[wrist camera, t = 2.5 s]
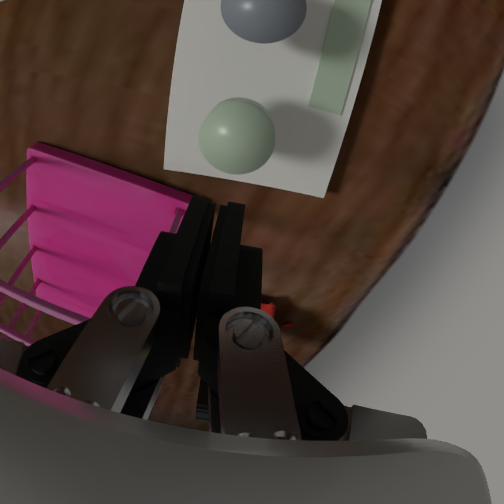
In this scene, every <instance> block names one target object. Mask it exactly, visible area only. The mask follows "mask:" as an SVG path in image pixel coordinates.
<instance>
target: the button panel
mask: <svg viewBox="0 0 504 504" xmlns="http://www.w3.org/2000/svg"><path fill="white" fill-rule="evenodd" d="M381 3H382V0H306V4H307V11H306V16H305V19H304V21H303V23H302V25H301V26H300V28H299V29H298V30H297V31H296V32H295V33H294V34H293V35H291V36H290V37H288V38H286V39H284V40H281V41H278V42H274V43H267V44H261V43H255V42H250V41H247V40H245V39H243V38H240V37H239V36H237V35H236V34H234V33H233V32H232V31H231V30H230V29H229V28H228V26H227V25H226V24H225V22H224V20H223V17H222V14H221V0H185V1H184V6H183V11H182V16H181V22H180V28H179V34H178V40H177V46H176V53H175V60H174V67H173V74H172V82H171V90H170V99H169V109H168V119H167V130H166V142H165V156H164V169H166V170H173V171H180V172H187V173H193V174H200V175H206V176H212V177H218V178H224V179H230V180H236V181H241V182H247V183H252V184H258V185H263V186H268V187H273V188H278V189H283V190H288V191H293V192H298V193H303V194H307V195H312V196H316V197H321V198H324V196H325V193H326V190H327V187H328V184H329V181H330V178H331V175H332V172H333V169H334V166H335V163H336V160H337V157H338V154H339V151H340V148H341V144H342V141H343V138H344V135H345V132H346V129H347V125H348V122H349V119H350V116H351V112H352V109H353V106H354V102H355V99H356V96H357V92H358V89H359V85H360V82H361V78H362V75H363V71H364V68H365V64H366V61H367V57H368V53H369V50H370V46H371V42H372V38H373V34H374V31H375V27H376V23H377V19H378V15H379V11H380V7H381ZM236 97H242V98H248V99H251V100H254V101H256V102H258V103H260V104H261V105H262V106H263V107H264V108H266V110H267V111H268V112H269V114H270V115H271V117H272V120H273V123H274V129H275V147H274V150H273V153H272V155H271V157H270V158H269V160H268V161H267V162H266V163H265V164H264V165H263V166H262V167H260V168H259V169H257V170H255V171H253V172H250V173H247V174H240V175H235V174H228V173H225V172H222V171H220V170H218V169H216V168H214V167H213V166H212V165H211V164H209V162H208V161H207V160H206V159H205V158H204V156H203V154H202V152H201V150H200V147H199V140H198V137H199V130H200V127H201V125H202V123H203V121H204V119H205V118H206V117H207V115H208V114H209V113H210V111H211V110H212V109H213V108H214V107H215V106H216V105H217V104H219V103H220V102H222V101H224V100H227V99H230V98H236Z"/></svg>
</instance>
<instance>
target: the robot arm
mask: <svg viewBox="0 0 504 504" xmlns="http://www.w3.org/2000/svg"><path fill="white" fill-rule="evenodd" d="M215 206H216V204H213V203H210V198H205V197H199V196H192V198H191V200H190V203H189V205H188V207H187V210H186V212H185V214H184V217H183V219H182V221H181V224H180V226H179V228H178V231H177V233H171V232H165V231H161V232H160V233H159V235H158V237H157V239H156V241H155V243H154V245H153V248H152V250H151V252H150V254H149V256H148V258H147V260H146V263H145V265H144V267H143V269H142V271H141V273H140V276H139V278H138V280H137V282H136V285H135V286H125V287H121V288H118V289H116V290H114V291H112V292H110V293H109V294H108V296H107V297H106V298H105V299H104V300H103V302H102V303H101V304H100V306H99V307H98V309H97V310H96V312H95V313H94V315H93V316H92V317H91V319H88V320H86V321H84V322H81V323H79V324H77V325H74V326H72V327H70V328H67V329H65V330H62V331H60V332H58V333H55V334H53V335H51V336H48V337H46V338H43V339H41V340H39V341H36V342H35V343H33V344H31V345H30V346H26V345H25V344H24V342H19V341H11V340H4V339H0V504H491V498H490V493H489V489H488V485H487V481H486V478H485V475H484V472H483V469H482V467H481V465H480V463H479V462H478V460H477V459H476V458H475V457H474V456H473V455H472V454H471V453H470V452H468V451H466V450H464V449H462V448H460V447H458V446H455V445H452V444H450V443H447V442H442V441H437V440H431V439H427V435H426V430H425V428H424V426H423V424H422V423H421V422H419V421H418V420H417V419H416V418H413V417H410V416H405V415H399V414H395V413H390V412H385V411H379V410H375V409H370V408H366V407H362V406H357V405H353V406H352V407H347V406H344V405H343V404H342V403H341V402H340V400H339V399H338V398H337V397H335V396H334V395H333V394H332V393H331V392H330V391H329V390H327V389H326V388H325V387H324V386H323V385H322V384H321V383H320V382H318V381H317V380H316V379H315V378H314V377H313V376H312V375H311V374H310V373H309V372H307V371H306V370H305V369H304V368H303V367H302V366H301V365H300V364H299V363H298V362H297V361H295V360H294V359H293V358H292V357H291V356H290V355H289V354H288V353H287V352H286V351H285V350H284V348H283V343H282V338H281V333H280V329H279V327H278V324H277V322H276V321H275V320H274V319H273V318H272V317H271V316H270V315H269V314H267V313H266V312H264V311H262V310H261V288H262V248H256V247H250V246H245V245H240V241H241V233H242V225H243V218H244V210H245V204H239V203H234V202H228V205H227V206H225V205H221V206H220V210H219V213H218V217H217V221H216V225H215V229H214V233H213V237H212V241H211V235H212V227H213V220H214V213H215ZM210 242H211V245H210ZM196 318H197V321H196ZM195 322H196V332H195V344H194V357H193V360H197V361H199V368H198V375H199V376H200V377H201V378H202V379H203V381H204V382H205V383H206V384H207V385H208V386H209V387H208V405H209V427H210V432H205V431H199V430H193V429H188V428H182V427H177V426H172V425H167V424H162V423H158V422H153V421H149V420H147V419H148V417H149V414H150V412H151V409H152V407H153V404H154V402H155V400H156V397H157V395H158V393H159V390H160V388H161V385H162V383H163V380H164V376H165V375H166V374H168V373H170V372H172V371H174V370H175V369H176V367H179V366H180V361H181V358H186V359H188V356H189V351H190V346H191V341H192V337H193V332H194V327H195Z"/></svg>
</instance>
